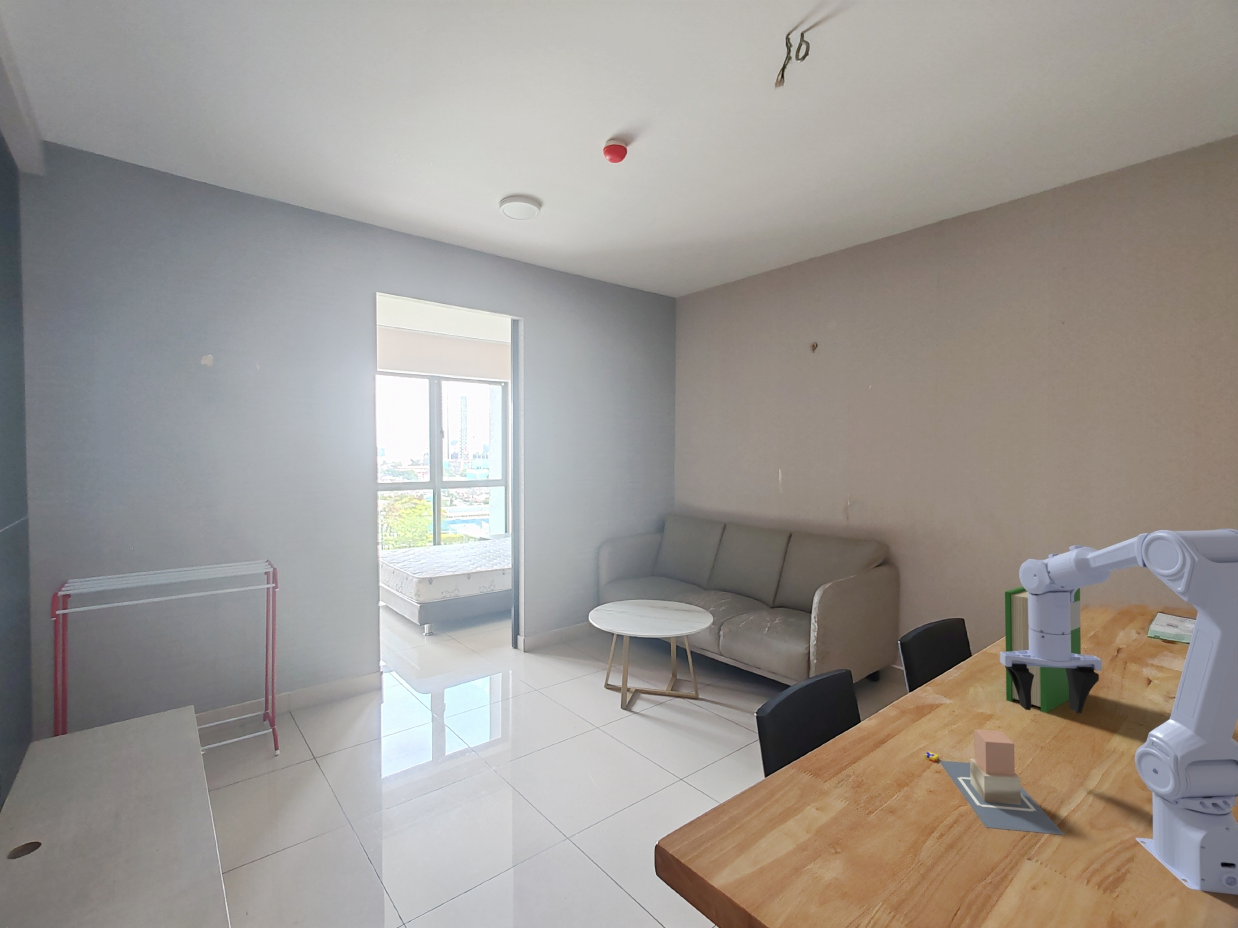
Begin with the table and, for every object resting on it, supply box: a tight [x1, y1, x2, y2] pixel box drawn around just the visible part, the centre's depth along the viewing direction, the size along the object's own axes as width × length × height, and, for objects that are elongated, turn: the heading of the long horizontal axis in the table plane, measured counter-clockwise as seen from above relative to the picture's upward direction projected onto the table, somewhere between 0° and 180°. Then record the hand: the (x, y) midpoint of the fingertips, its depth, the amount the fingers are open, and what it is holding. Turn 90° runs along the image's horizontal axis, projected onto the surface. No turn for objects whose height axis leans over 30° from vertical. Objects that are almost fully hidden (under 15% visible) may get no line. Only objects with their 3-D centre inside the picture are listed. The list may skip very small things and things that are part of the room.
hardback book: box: [1004, 586, 1082, 714], centre depth 124 cm, size 18×7×24 cm, turn 122°
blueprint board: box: [938, 760, 1066, 836], centre depth 88 cm, size 18×10×1 cm, turn 169°
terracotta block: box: [973, 729, 1016, 776], centre depth 88 cm, size 4×4×5 cm
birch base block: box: [969, 758, 1022, 805], centre depth 88 cm, size 5×5×4 cm
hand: (1050, 708), depth 95 cm, fingers open, 7 cm apart
